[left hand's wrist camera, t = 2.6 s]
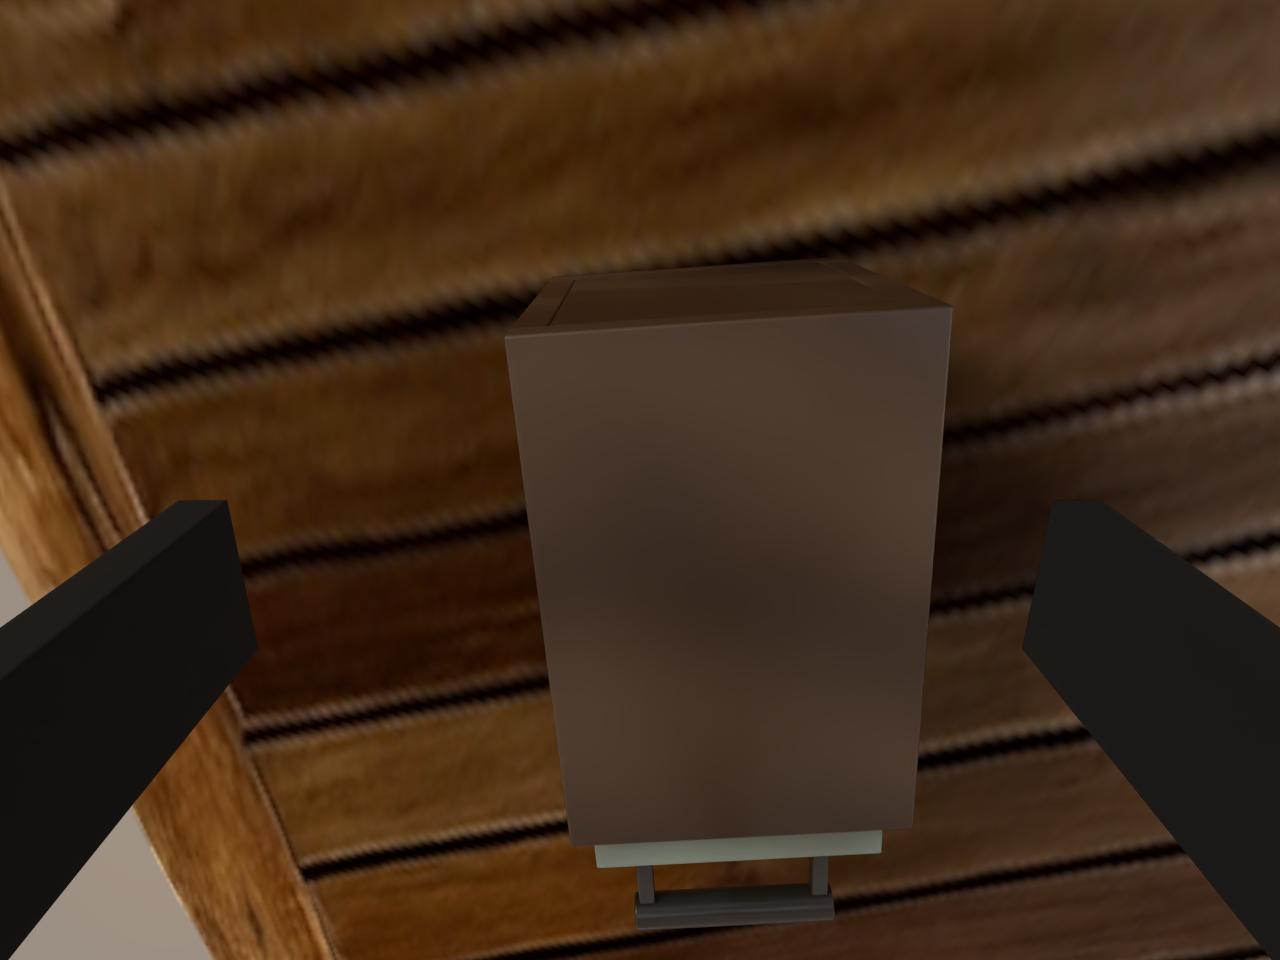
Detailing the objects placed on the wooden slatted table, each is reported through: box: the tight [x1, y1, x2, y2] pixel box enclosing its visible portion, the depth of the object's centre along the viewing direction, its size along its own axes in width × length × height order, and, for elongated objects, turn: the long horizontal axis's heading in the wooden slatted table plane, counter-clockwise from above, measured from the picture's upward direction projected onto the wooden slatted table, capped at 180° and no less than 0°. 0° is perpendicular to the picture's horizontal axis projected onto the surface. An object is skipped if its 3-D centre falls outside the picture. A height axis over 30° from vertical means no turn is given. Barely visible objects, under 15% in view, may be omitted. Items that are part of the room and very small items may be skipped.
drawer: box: [594, 830, 883, 930], centre depth 29 cm, size 21×9×9 cm, turn 4°
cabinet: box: [504, 257, 953, 847], centre depth 27 cm, size 16×11×11 cm, turn 4°
